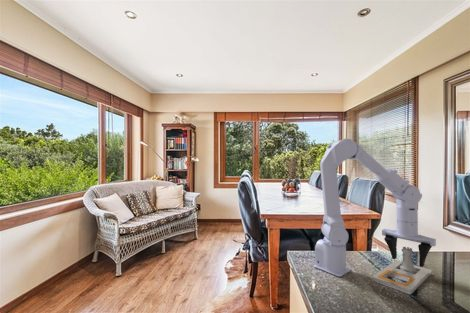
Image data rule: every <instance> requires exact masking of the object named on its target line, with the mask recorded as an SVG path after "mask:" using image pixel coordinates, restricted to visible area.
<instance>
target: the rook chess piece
mask: <svg viewBox="0 0 470 313" xmlns="http://www.w3.org/2000/svg"><path fill="white" fill-rule="evenodd" d="M401 251H402V260H401V262H402V263H401V265H400V268H399V270H402V271H406V272H409V273H412V274H416V273H417V272H415V271H416V269H415V268H414V265H415V264H414V263H413V257H414V256H413V253H414V251H413V248H412V247H409V246H407V247H406V246H402V249H401Z"/></svg>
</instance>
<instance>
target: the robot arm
mask: <svg viewBox="0 0 470 313" xmlns="http://www.w3.org/2000/svg"><path fill="white" fill-rule="evenodd" d="M324 152H325V153H324V155H323V156H322V158H321V161H319V167H320V168H319V169H320V178H321V190H322V201H323V210H324V215H323V217H322V225H321V228H320V229H321V233H322V235H323V236H324V237H323V239H322V238H321V239H318V240H317V241H316V244H315V246H314V265H313V267H314V268H316V269H319V270H321V271H323V272H326V273H328V274H331V275H334V276H336V277H338V278H341V277H342V276H344V275H346V274H347V273H349V272H351V271H352V268H350V267H349V266H347V243H348V241H349V236H350V235H349V232H348V231H347V230H346V227H345V222H344V219H343V216H342V212H341V200H340V192H339V183H338V171H337V168H338V167H340V166H341V164H342V163H344V162H345V161H347V160H353V161H357V162H358V163H360V164H361V165H363V167H365V168H366V169H368V170H369V171H370V172H372V173H373V174H374V175H375V176H376V181H377V182H378V183H379V184H380V185H382V186H383V187H384V188H385V189H386V190H388V191H389V192H390V193H391V195H392V197H393V198H395V199H396V200H395V202H396V203H395V204H396V205H395V206H396V208H395V210H396V230H394V229H387V228H383V229H381V236H383V237H384V238H383V239H384V241H385V243H386V245H387V246H388V249H389V252H390V254H391V255H390V256H391V258H392V260H397V258H398V253H397V252H398V250H397V249H398V248H397V244H398V239H400V240H406V241H409V242H415V243H419V244H418V245H417V248H418V252H419V254H418V255H419V265H418V266H419V267H423V268H424V267H425V262H426V259H427V256H428V254H429V253H430V250H431V248H433V247H436V246H437V239H436V238H433V237H429V236H425V235H421V234H419V228H418V227H419V226H418V225H419V221H418V220H419V218H418V217H419V215H418V214H419V213H418V212H419V210H418V207H419V202H420V200H421V199H422V197H423V193H421V191H420V189H419V188H418V187H417V186H415V185H413V184H410V183H409V182H410V181H409V180H408V179H405V178H404V177H402V176H400V175H399V173H398V171H397V170H396V169H393V168H390V167H389V168H388V167H384V166H383V165H381V163H379V162H378V160H376V159H375V158H374V157H373V156H372V155H371V154H370V153H369V152H368V151H366V150H365V149H364V148H363V147H362V146H361V145H360V144H359V143H356V142H355V141H354V139H352V138H342V139H341V140H336V141H333V142H331V144H329V145H328V146H327V147H326V151H324Z"/></svg>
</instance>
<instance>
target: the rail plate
mask: <svg viewBox="0 0 470 313" xmlns="http://www.w3.org/2000/svg"><path fill="white" fill-rule="evenodd" d="M401 263H402V260H397V259H394V260H393V261H392V262H391V263H389V264H388V265H387V266H385V267H383V268H382V269H381V270H380V271H378V272H376V273H375V274H374V275H372V276H371V282H374V283H377V284H379V285H383V286H386V287H389V288H391V289H394V290H396V291H400V292H401V293H405V294H407V295H412V294H413V293H414V292H415V291H416V290H417V289H418V288H419V287H420V286H421V285H422V284H423V283H424V282H425V281H426V280H427V279H428V277H429V276H431V275H432V269H430V268H426V267H424V266H423V267H420V265H416V264H413V265H414V268H415V269H416V271H415V272H416V274H412V273H409V272H406V271H402V270H400V265H401ZM389 277H392V278H396V279H399V280H400V281H401V280H402V281H404V282H405V283H402V282H399V281H397V280H393V279H390V278H389Z"/></svg>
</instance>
